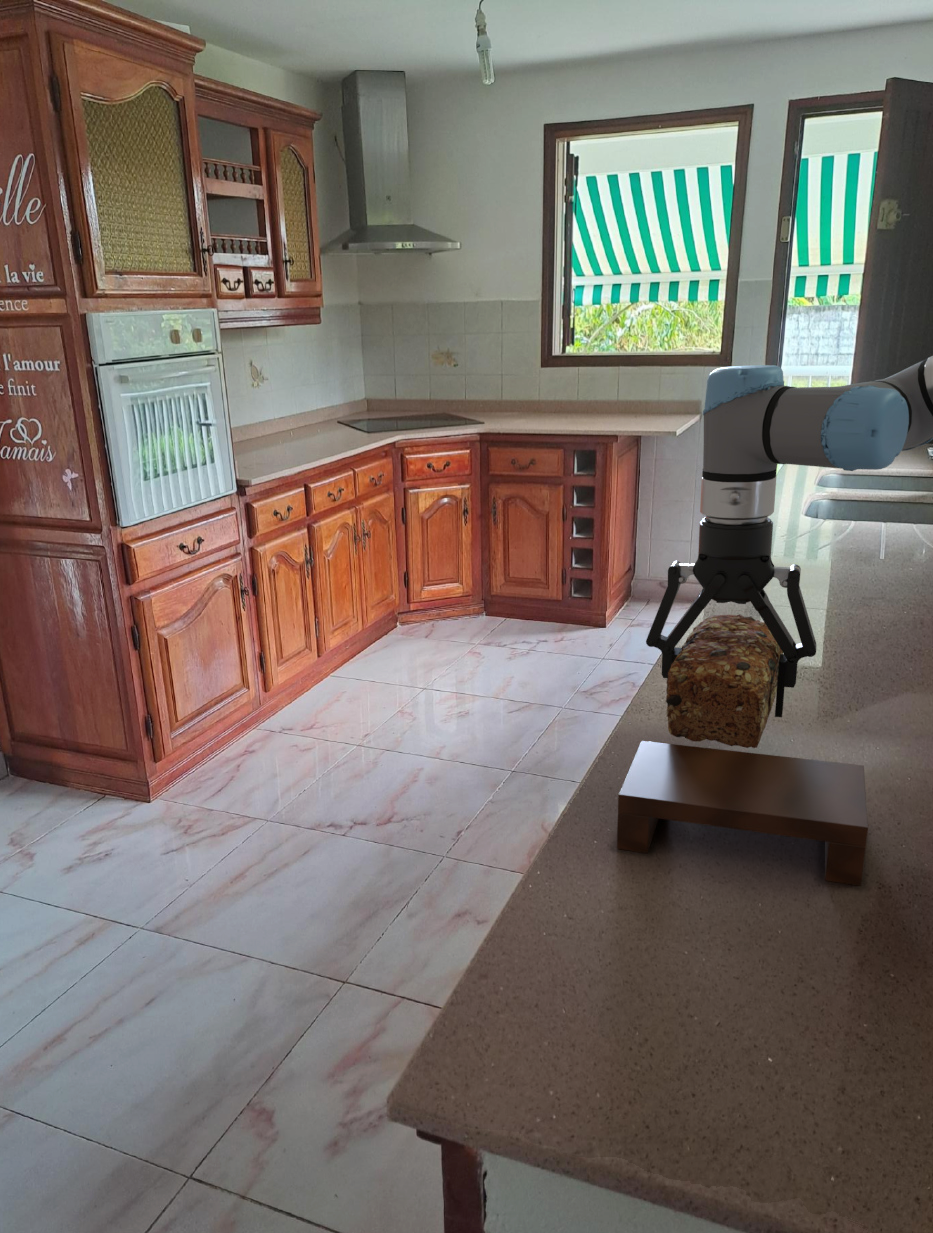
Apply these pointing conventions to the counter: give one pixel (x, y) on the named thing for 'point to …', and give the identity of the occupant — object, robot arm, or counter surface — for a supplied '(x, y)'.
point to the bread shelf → (748, 799)
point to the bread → (724, 682)
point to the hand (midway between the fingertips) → (725, 708)
